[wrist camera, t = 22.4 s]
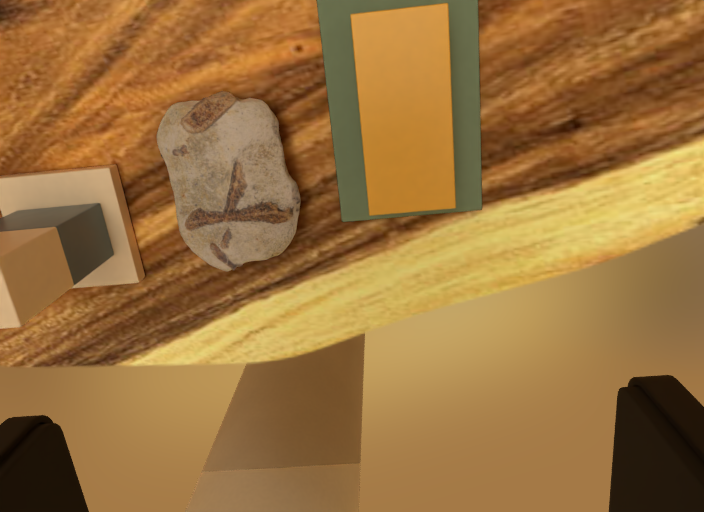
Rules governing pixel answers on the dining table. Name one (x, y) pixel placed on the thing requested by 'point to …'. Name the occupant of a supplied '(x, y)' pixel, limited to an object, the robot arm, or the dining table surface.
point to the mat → (344, 107)
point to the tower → (62, 238)
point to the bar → (405, 108)
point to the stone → (229, 179)
